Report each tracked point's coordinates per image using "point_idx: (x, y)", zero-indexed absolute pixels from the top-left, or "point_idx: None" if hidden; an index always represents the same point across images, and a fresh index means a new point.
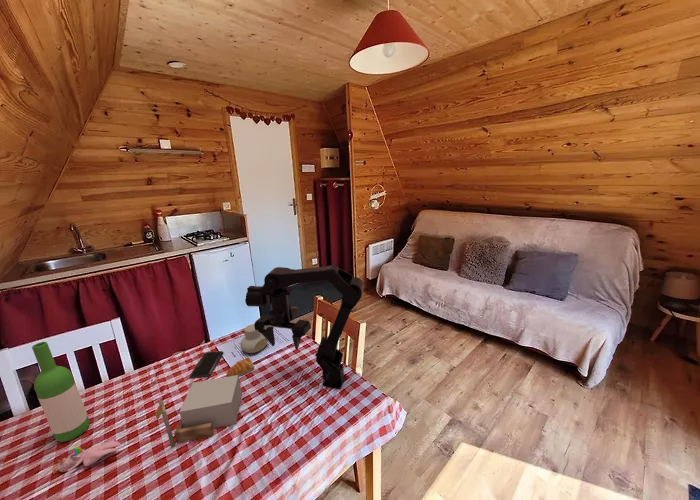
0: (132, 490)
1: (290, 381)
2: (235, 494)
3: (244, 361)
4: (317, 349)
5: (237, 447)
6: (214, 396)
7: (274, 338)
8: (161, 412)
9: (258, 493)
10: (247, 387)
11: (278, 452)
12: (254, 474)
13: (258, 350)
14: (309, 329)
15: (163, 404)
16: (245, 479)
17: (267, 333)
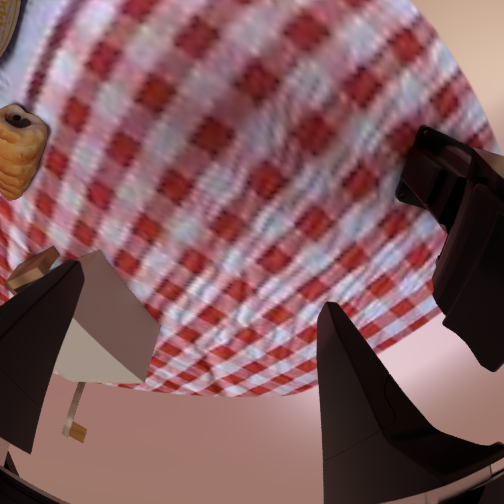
0: (113, 384)
1: (243, 171)
2: (250, 396)
3: (2, 152)
4: (474, 275)
5: (205, 361)
6: (87, 365)
7: (46, 296)
8: (76, 425)
9: (282, 395)
10: (91, 220)
11: (294, 365)
12: (265, 384)
13: (8, 39)
14: (501, 469)
15: (69, 430)
16: (254, 388)
17: (29, 421)
